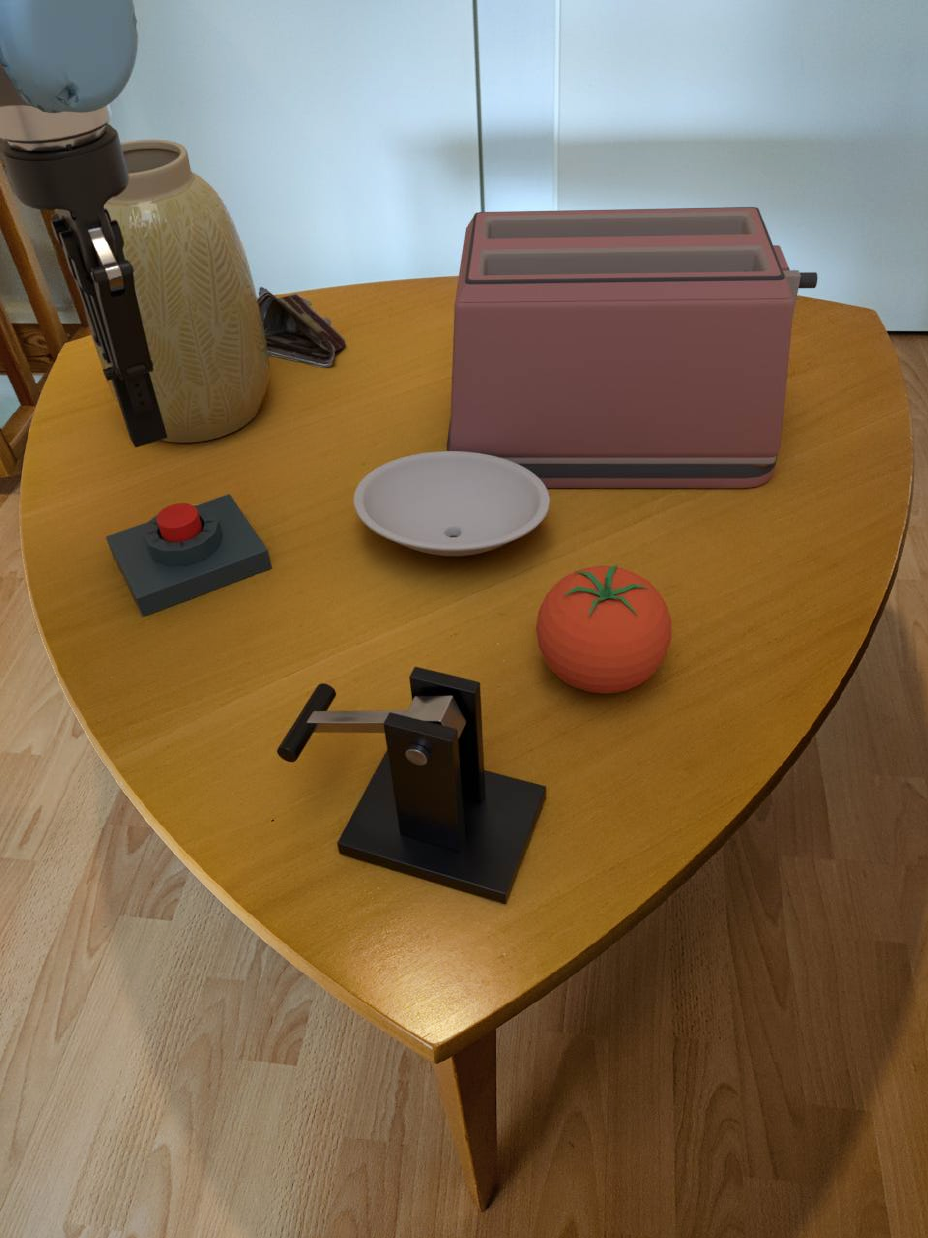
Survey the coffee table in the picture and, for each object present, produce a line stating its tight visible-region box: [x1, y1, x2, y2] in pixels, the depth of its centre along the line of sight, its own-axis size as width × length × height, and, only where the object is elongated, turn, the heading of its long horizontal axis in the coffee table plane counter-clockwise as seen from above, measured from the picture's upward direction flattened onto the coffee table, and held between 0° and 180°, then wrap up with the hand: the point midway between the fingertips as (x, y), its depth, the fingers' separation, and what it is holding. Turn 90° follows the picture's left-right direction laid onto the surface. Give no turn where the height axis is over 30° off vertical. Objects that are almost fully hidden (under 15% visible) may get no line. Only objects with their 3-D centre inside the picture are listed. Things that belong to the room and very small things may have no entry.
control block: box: [105, 493, 273, 617], centre depth 90 cm, size 12×10×4 cm
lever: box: [276, 682, 466, 763], centre depth 64 cm, size 12×6×2 cm, turn 70°
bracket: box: [336, 666, 547, 905], centre depth 65 cm, size 12×9×13 cm
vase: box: [81, 139, 270, 444], centre depth 101 cm, size 17×17×27 cm
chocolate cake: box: [257, 286, 347, 368], centre depth 119 cm, size 10×7×12 cm
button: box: [156, 502, 202, 542], centre depth 88 cm, size 4×4×2 cm
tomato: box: [535, 564, 672, 694], centre depth 76 cm, size 10×10×10 cm
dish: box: [353, 450, 551, 557], centre depth 90 cm, size 18×14×5 cm
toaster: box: [446, 206, 818, 489], centre depth 96 cm, size 19×34×20 cm, turn 86°
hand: (148, 438), depth 81 cm, fingers closed
